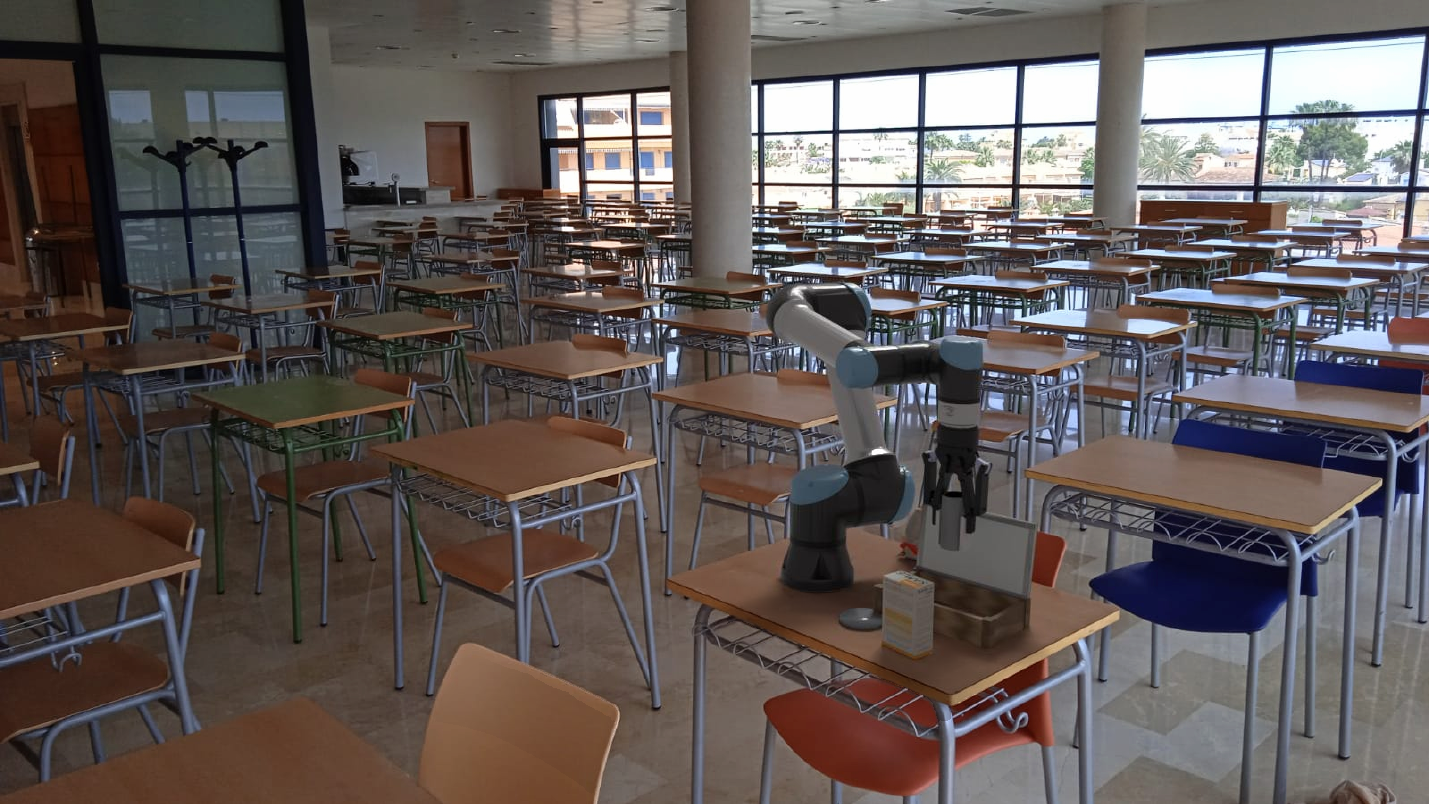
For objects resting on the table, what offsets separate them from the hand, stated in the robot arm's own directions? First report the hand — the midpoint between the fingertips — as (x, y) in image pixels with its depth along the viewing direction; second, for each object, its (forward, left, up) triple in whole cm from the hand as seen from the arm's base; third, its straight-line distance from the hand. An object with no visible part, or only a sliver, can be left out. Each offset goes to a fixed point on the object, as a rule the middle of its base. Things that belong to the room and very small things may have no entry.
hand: (952, 545), depth 195 cm
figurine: (-24, +25, -15) cm, 37 cm away
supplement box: (+2, -17, -15) cm, 22 cm away
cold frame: (0, 0, -14) cm, 14 cm away
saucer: (-11, -12, -14) cm, 22 cm away
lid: (0, +7, -2) cm, 7 cm away
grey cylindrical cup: (0, 0, 0) cm, 0 cm away
